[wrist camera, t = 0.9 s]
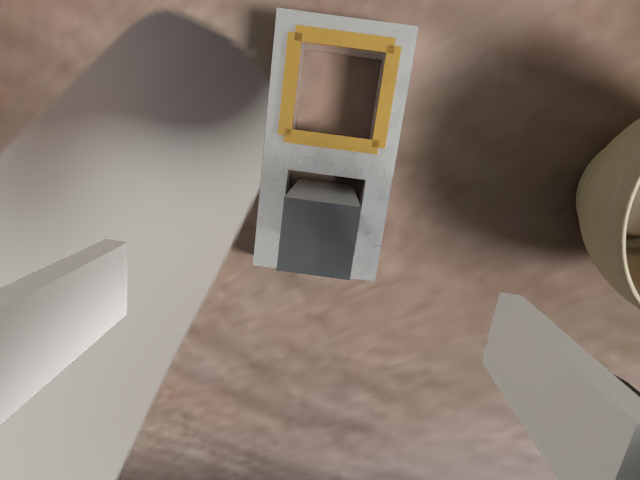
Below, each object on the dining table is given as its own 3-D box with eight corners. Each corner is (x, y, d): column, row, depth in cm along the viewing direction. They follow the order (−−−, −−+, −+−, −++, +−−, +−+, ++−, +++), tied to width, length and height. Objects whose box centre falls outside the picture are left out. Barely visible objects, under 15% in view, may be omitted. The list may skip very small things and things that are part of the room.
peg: (344, 236, 35) (349, 279, 24) (293, 229, 35) (276, 270, 24) (352, 185, 34) (361, 207, 23) (299, 178, 34) (284, 196, 23)
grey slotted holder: (372, 271, 35) (375, 283, 33) (258, 256, 35) (251, 266, 33) (412, 35, 31) (419, 25, 28) (281, 17, 31) (275, 5, 28)
